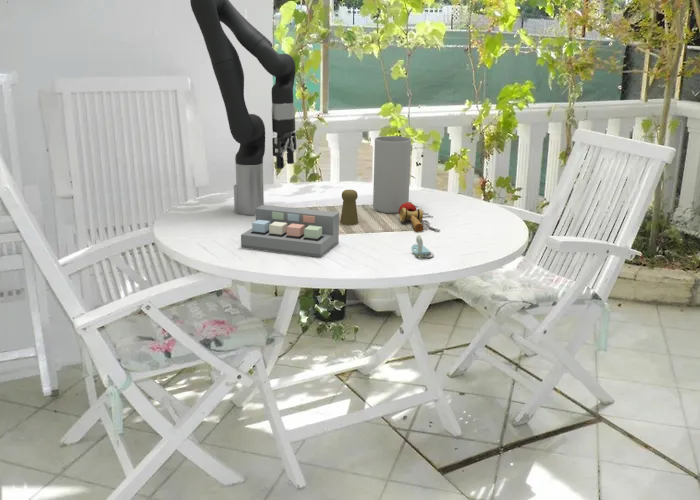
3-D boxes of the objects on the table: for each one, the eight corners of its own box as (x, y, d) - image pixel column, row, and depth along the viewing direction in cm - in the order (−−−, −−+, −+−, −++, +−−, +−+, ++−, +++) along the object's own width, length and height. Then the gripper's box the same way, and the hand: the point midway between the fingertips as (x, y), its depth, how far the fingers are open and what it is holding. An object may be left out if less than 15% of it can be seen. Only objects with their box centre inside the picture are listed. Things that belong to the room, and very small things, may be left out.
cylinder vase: (367, 206, 270) (368, 137, 263) (398, 203, 275) (400, 135, 268) (382, 215, 259) (384, 142, 252) (414, 212, 264) (417, 140, 257)
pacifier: (428, 251, 222) (409, 252, 221) (430, 231, 220) (410, 231, 219) (436, 259, 215) (416, 259, 214) (438, 238, 213) (418, 238, 212)
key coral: (286, 239, 219) (286, 226, 218) (292, 235, 223) (292, 223, 222) (299, 241, 218) (299, 228, 217) (304, 237, 222) (304, 224, 221)
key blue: (252, 235, 223) (252, 223, 222) (258, 231, 226) (257, 219, 225) (264, 236, 222) (264, 224, 220) (270, 233, 225) (270, 221, 224)
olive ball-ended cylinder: (356, 225, 246) (356, 192, 243) (338, 224, 248) (338, 191, 244) (359, 220, 252) (360, 188, 249) (342, 219, 253) (342, 187, 250)
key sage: (304, 241, 218) (304, 228, 217) (309, 237, 221) (309, 225, 220) (317, 243, 217) (317, 230, 215) (322, 239, 220) (322, 226, 219)
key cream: (269, 237, 221) (269, 225, 220) (275, 233, 225) (274, 221, 224) (282, 238, 220) (281, 226, 219) (287, 235, 223) (287, 222, 222)
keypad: (241, 247, 222) (240, 216, 219) (263, 234, 235) (262, 204, 232) (320, 257, 214) (320, 225, 211) (338, 243, 228) (338, 212, 225)
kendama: (432, 235, 242) (417, 213, 258) (430, 217, 240) (415, 196, 255) (409, 240, 242) (395, 218, 258) (407, 222, 239) (393, 201, 255)
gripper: (281, 114, 254) (283, 161, 259) (263, 119, 241) (266, 169, 246) (302, 114, 252) (304, 162, 257) (285, 120, 239) (287, 170, 244)
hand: (285, 166), depth 252 cm, fingers open, 8 cm apart
